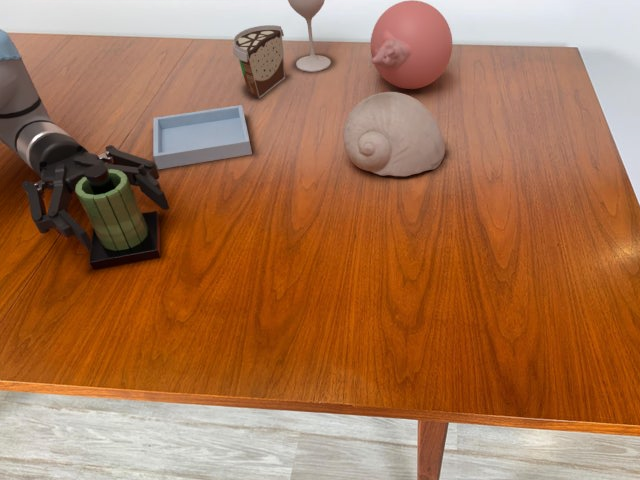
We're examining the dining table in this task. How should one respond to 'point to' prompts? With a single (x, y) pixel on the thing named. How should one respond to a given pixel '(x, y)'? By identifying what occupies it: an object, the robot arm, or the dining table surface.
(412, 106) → the seashell
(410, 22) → the balloon
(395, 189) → the dining table surface
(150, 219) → the post
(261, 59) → the food container
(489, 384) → the dining table surface
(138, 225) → the ring sleeve
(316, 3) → the wineglass
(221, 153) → the tray
